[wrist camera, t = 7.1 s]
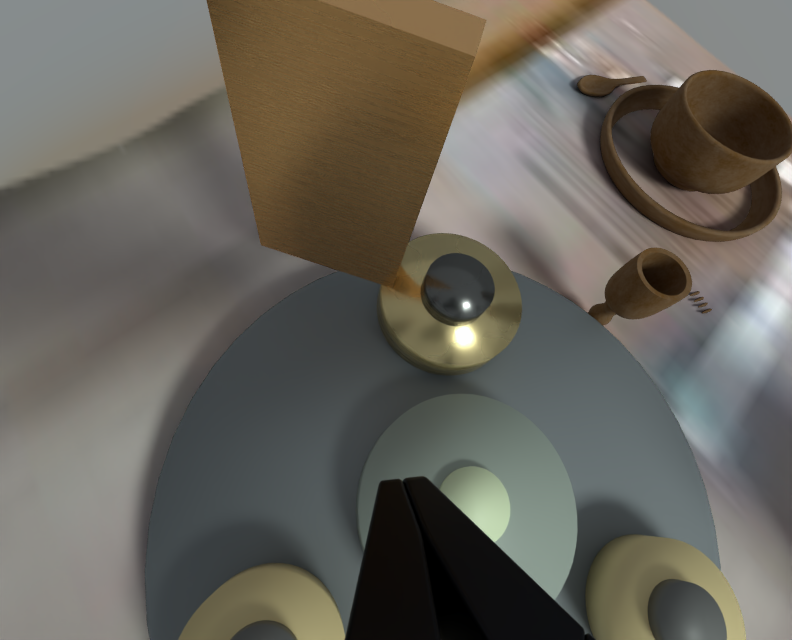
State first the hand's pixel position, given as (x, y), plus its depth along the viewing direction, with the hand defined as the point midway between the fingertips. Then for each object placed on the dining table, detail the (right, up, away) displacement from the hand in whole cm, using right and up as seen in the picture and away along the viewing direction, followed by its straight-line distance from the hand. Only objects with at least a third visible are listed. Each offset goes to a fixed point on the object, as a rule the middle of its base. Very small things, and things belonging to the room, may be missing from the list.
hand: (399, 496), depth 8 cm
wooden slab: (0, +4, +11) cm, 12 cm away
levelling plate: (+2, -4, +10) cm, 11 cm away
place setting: (+15, +11, +19) cm, 27 cm away
